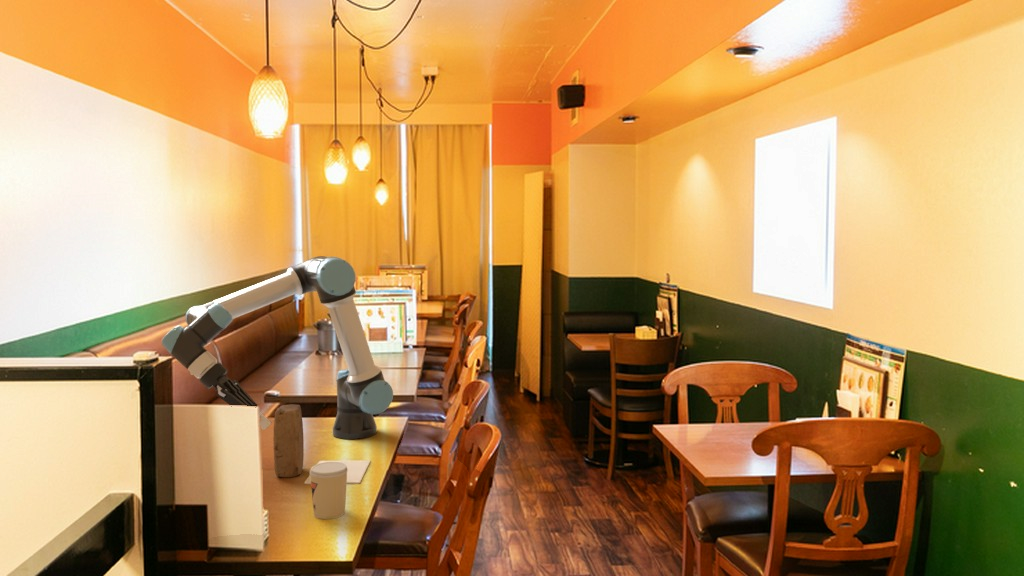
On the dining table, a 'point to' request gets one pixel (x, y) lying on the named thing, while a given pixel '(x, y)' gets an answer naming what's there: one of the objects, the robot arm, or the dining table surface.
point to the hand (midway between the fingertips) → (267, 426)
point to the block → (288, 441)
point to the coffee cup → (328, 489)
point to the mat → (350, 470)
